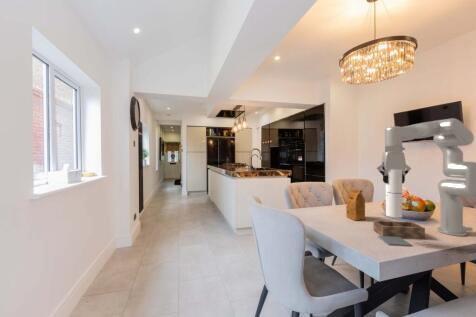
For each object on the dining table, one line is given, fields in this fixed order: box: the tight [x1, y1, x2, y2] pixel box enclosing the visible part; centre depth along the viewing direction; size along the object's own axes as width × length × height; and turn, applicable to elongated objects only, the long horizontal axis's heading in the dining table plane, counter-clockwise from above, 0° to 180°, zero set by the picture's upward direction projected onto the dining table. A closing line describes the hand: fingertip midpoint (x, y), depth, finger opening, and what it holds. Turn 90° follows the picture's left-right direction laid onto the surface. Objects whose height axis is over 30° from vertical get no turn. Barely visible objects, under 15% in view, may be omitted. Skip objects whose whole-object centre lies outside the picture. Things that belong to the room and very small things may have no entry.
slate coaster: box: [377, 235, 413, 247], centre depth 116 cm, size 11×11×1 cm
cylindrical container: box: [385, 169, 403, 218], centre depth 116 cm, size 7×7×25 cm
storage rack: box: [372, 220, 426, 240], centre depth 126 cm, size 21×11×6 cm, turn 81°
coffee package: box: [345, 187, 366, 221], centre depth 159 cm, size 10×12×22 cm
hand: (393, 182), depth 115 cm, fingers closed on cylindrical container, 7 cm apart
